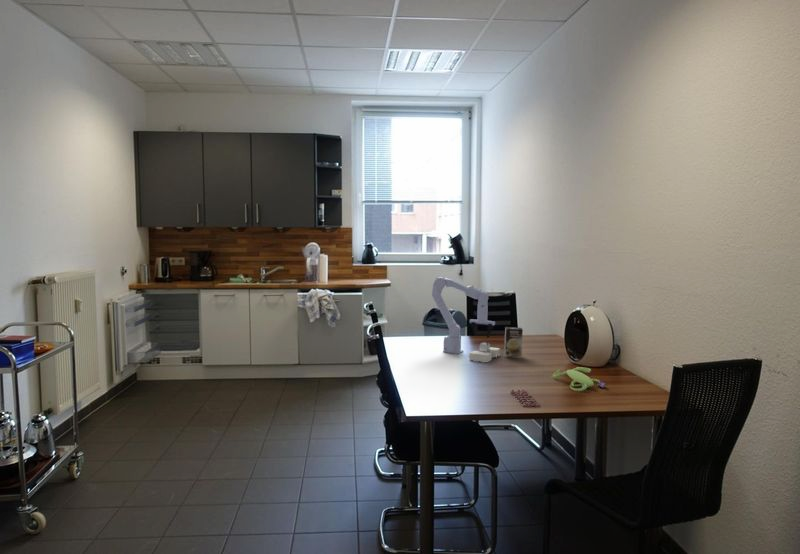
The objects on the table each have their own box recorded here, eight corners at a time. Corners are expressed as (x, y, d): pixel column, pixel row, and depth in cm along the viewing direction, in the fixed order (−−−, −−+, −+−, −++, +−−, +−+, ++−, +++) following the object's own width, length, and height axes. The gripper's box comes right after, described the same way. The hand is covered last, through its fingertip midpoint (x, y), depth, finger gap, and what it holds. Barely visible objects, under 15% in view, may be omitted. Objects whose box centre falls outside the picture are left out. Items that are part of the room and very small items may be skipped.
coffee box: (504, 357, 303) (505, 328, 302) (503, 355, 310) (504, 326, 308) (521, 358, 302) (522, 329, 301) (520, 355, 309) (521, 327, 307)
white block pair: (469, 360, 296) (469, 352, 296) (483, 353, 313) (483, 346, 313) (487, 362, 291) (487, 355, 291) (499, 355, 309) (500, 348, 308)
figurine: (584, 375, 270) (584, 364, 269) (613, 391, 243) (614, 379, 243) (548, 376, 267) (548, 365, 266) (573, 392, 240) (574, 380, 240)
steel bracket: (479, 358, 301) (479, 344, 300) (482, 356, 305) (483, 342, 305) (486, 359, 299) (486, 344, 298) (489, 357, 303) (490, 343, 303)
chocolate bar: (523, 408, 219) (523, 403, 219) (510, 394, 238) (510, 389, 238) (541, 408, 220) (541, 403, 219) (526, 394, 239) (526, 389, 238)
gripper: (467, 312, 312) (467, 336, 313) (492, 314, 305) (491, 339, 306) (472, 311, 318) (471, 334, 319) (496, 313, 311) (495, 337, 312)
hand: (481, 336), depth 313 cm, fingers open, 7 cm apart
